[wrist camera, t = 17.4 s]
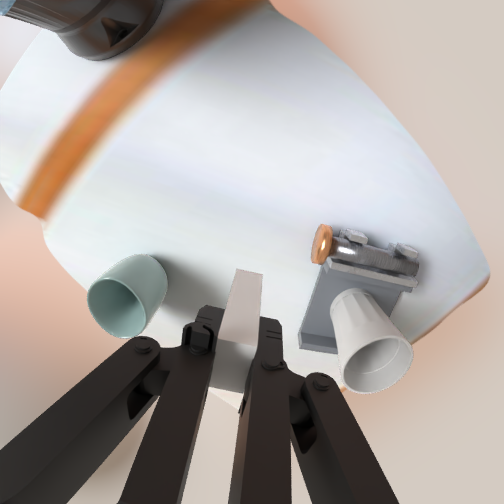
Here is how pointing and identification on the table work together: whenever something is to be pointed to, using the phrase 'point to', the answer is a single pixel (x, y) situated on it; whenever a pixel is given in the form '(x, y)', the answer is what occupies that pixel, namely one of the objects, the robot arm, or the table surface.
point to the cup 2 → (367, 343)
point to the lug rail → (370, 271)
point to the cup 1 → (128, 295)
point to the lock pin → (359, 254)
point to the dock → (325, 291)
